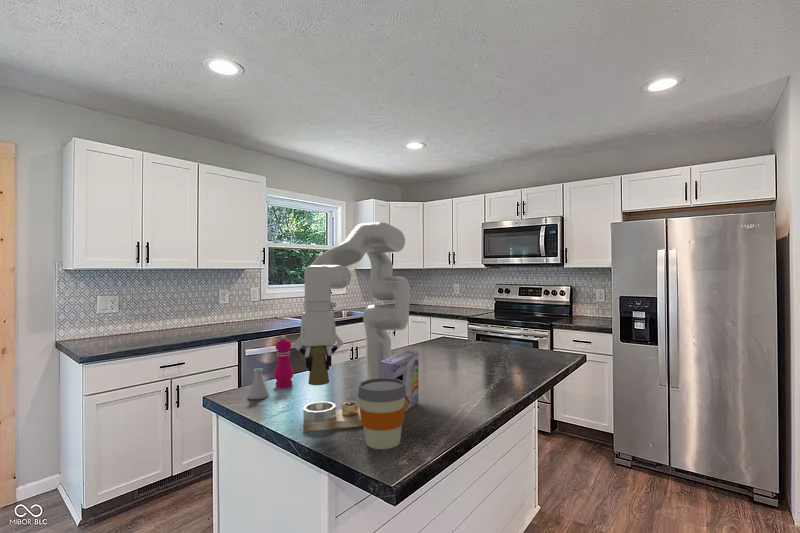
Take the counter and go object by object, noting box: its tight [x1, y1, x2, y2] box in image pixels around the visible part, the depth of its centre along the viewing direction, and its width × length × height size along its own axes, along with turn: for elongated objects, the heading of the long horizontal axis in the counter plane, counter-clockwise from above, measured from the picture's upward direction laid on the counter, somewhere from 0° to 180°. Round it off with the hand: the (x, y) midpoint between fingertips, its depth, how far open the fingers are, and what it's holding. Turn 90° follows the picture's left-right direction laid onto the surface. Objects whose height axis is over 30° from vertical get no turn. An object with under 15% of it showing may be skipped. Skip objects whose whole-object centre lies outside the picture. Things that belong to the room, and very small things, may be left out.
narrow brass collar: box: [341, 400, 359, 417], centre depth 121 cm, size 5×5×3 cm
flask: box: [247, 367, 270, 400], centre depth 145 cm, size 7×7×10 cm
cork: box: [308, 346, 330, 386], centre depth 119 cm, size 6×6×11 cm
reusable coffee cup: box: [357, 378, 406, 450], centre depth 105 cm, size 13×13×15 cm
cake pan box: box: [380, 349, 419, 413], centre depth 128 cm, size 19×5×18 cm, turn 151°
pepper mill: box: [273, 334, 294, 389], centre depth 159 cm, size 7×7×20 cm
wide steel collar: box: [302, 401, 337, 423], centre depth 119 cm, size 9×9×3 cm
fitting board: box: [302, 407, 363, 433], centre depth 120 cm, size 18×10×2 cm, turn 102°
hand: (318, 368), depth 119 cm, fingers closed on cork, 4 cm apart
